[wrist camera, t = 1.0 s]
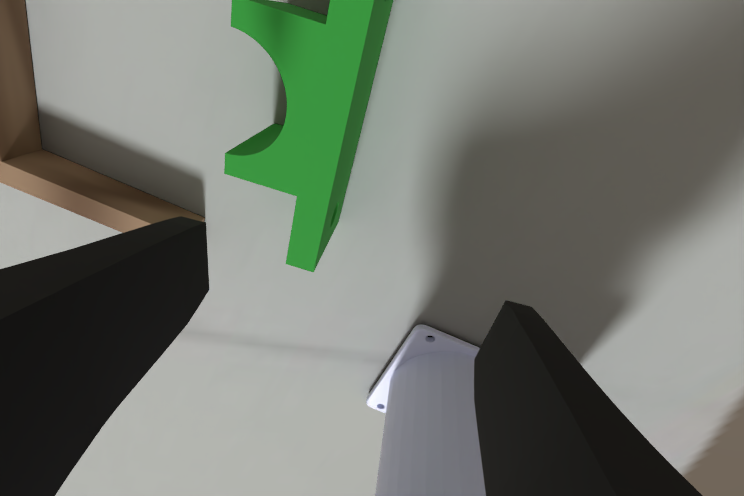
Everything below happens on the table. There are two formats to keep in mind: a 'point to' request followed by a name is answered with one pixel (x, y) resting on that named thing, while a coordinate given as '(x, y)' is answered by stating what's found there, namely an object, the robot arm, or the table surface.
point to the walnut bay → (46, 170)
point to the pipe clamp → (312, 108)
